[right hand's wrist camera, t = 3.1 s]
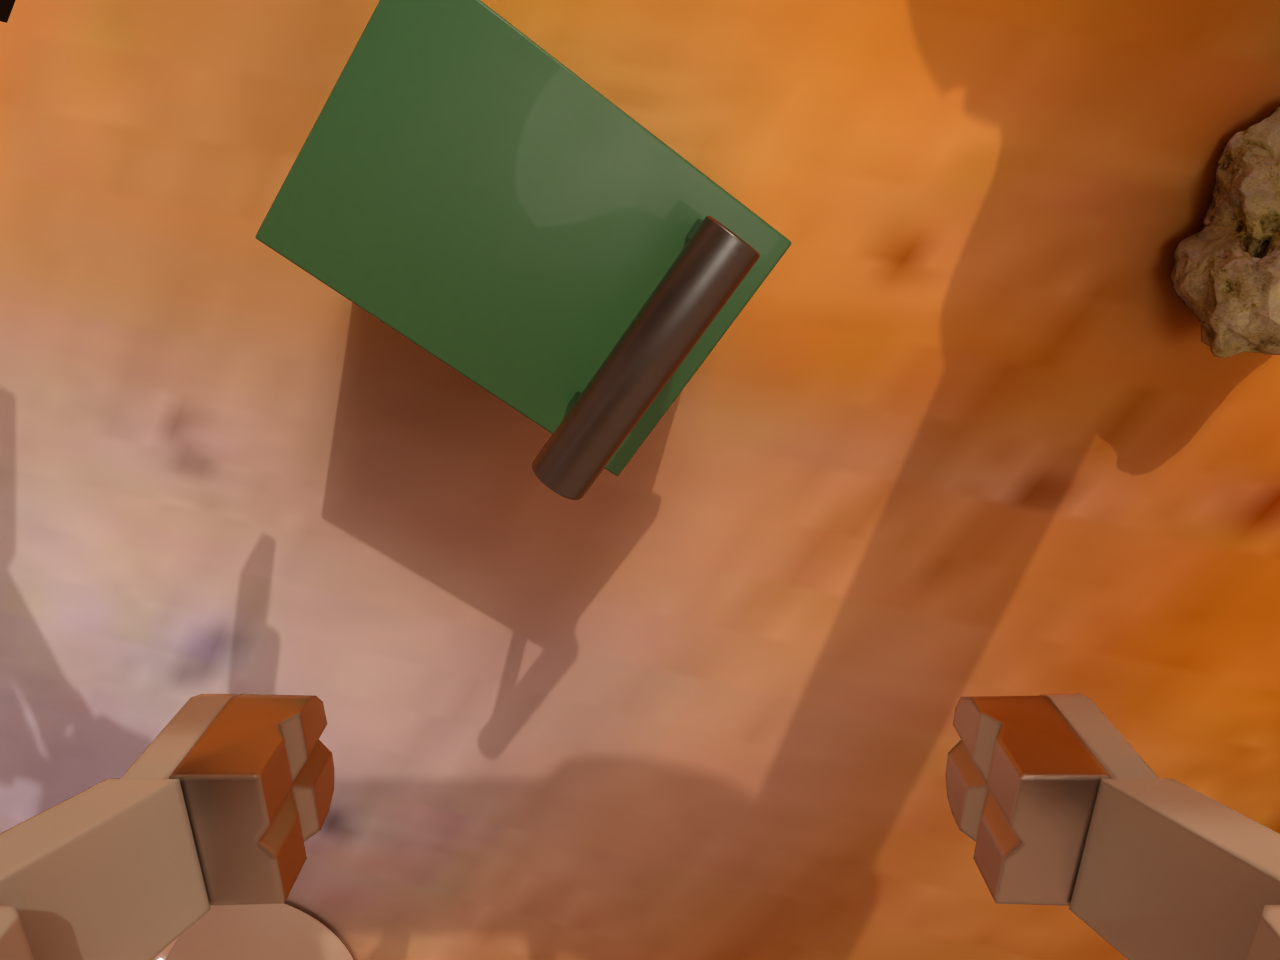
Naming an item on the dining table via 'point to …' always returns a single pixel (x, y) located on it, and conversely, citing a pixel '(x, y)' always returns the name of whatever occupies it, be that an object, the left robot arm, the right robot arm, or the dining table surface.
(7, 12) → the left robot arm
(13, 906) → the right robot arm
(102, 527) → the dining table surface
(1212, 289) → the rock
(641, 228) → the lid
